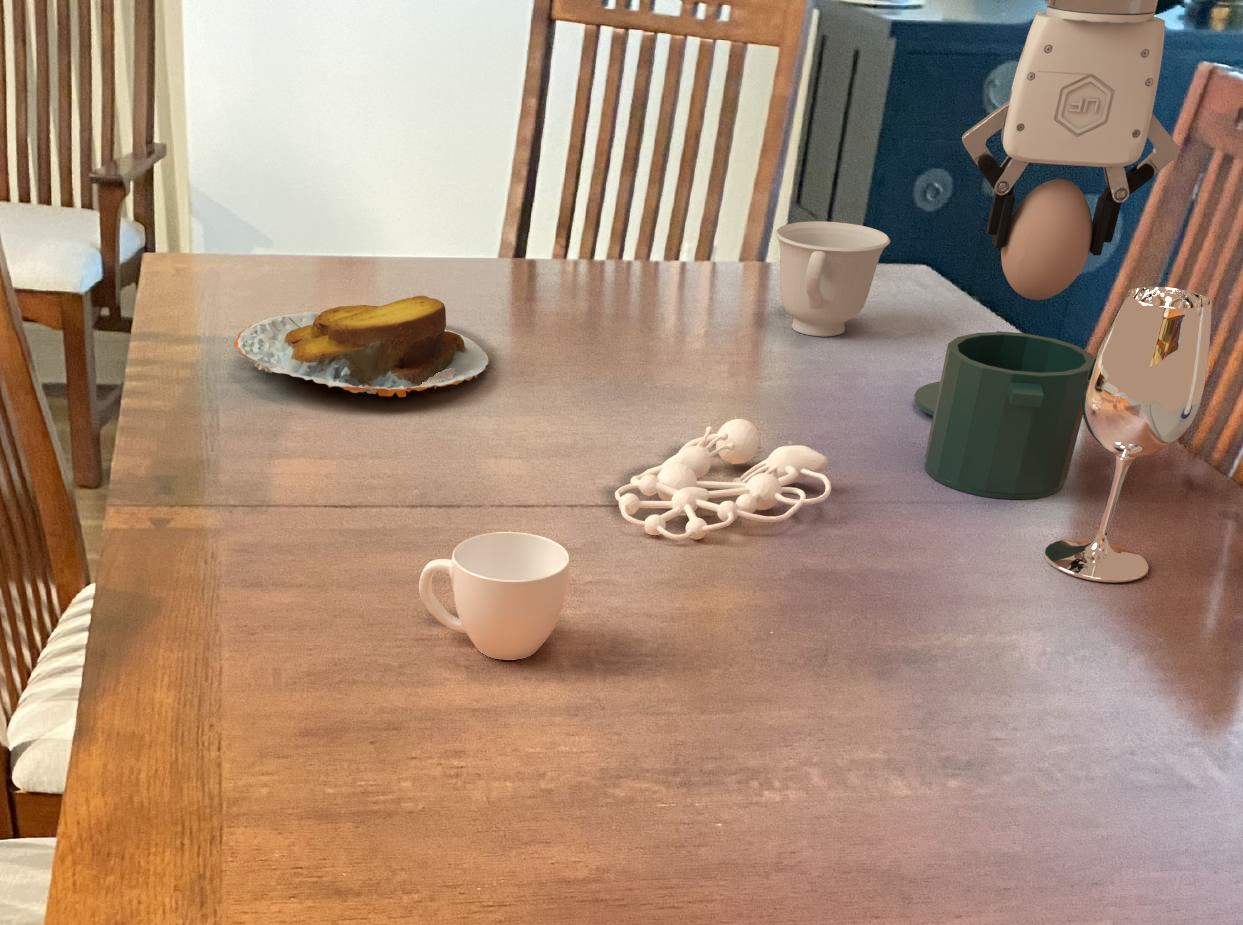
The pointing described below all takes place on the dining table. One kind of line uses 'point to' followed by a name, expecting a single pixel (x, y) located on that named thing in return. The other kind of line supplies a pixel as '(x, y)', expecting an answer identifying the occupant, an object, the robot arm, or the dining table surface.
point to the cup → (502, 591)
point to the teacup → (826, 273)
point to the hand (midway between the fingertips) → (1045, 246)
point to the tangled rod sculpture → (755, 488)
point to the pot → (1007, 414)
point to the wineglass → (1139, 407)
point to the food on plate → (365, 347)
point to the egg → (1047, 240)
